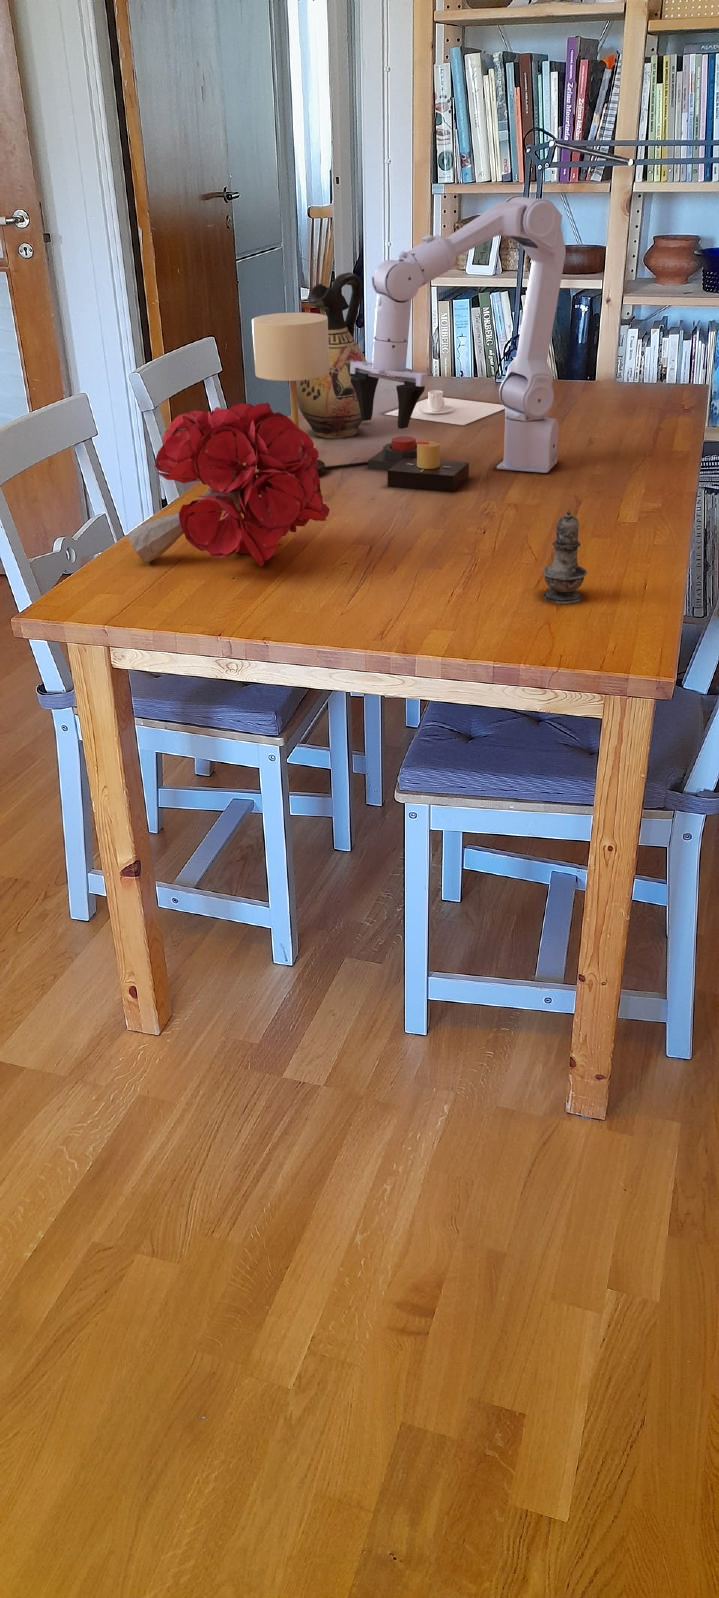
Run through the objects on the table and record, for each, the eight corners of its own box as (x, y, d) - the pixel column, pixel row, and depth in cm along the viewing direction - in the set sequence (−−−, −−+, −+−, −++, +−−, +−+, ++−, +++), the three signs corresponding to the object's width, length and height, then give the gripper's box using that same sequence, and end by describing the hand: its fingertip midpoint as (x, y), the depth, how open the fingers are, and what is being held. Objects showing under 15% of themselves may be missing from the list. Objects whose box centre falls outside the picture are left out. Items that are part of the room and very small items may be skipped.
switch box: (438, 462, 222) (439, 443, 220) (425, 473, 215) (425, 454, 214) (383, 458, 225) (383, 439, 224) (368, 469, 219) (367, 449, 217)
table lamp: (376, 463, 222) (373, 311, 209) (342, 487, 209) (337, 327, 196) (288, 456, 228) (280, 308, 215) (250, 479, 215) (238, 323, 202)
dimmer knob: (442, 463, 210) (443, 440, 208) (435, 469, 206) (435, 445, 204) (421, 462, 211) (421, 438, 209) (413, 467, 208) (413, 444, 206)
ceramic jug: (332, 447, 233) (326, 281, 218) (283, 433, 244) (274, 274, 228) (396, 431, 243) (395, 271, 228) (346, 419, 253) (342, 265, 238)
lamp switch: (419, 446, 220) (419, 436, 219) (411, 452, 216) (411, 442, 215) (396, 444, 221) (396, 435, 220) (388, 450, 218) (388, 441, 217)
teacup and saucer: (431, 404, 263) (431, 385, 261) (462, 408, 259) (462, 389, 256) (409, 412, 257) (409, 393, 255) (440, 417, 252) (440, 397, 250)
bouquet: (168, 634, 171) (347, 528, 163) (69, 491, 162) (252, 372, 155) (193, 590, 190) (354, 493, 182) (105, 460, 182) (270, 353, 174)
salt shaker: (536, 590, 164) (541, 503, 158) (579, 587, 164) (585, 501, 158) (546, 605, 159) (551, 517, 153) (589, 603, 159) (596, 515, 153)
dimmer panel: (468, 479, 212) (469, 461, 210) (453, 493, 205) (453, 474, 203) (404, 473, 216) (404, 456, 214) (387, 487, 209) (387, 469, 207)
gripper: (341, 335, 199) (336, 419, 205) (414, 347, 191) (406, 434, 198) (366, 332, 204) (360, 414, 210) (437, 344, 197) (429, 429, 203)
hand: (384, 423), depth 204 cm, fingers open, 7 cm apart
